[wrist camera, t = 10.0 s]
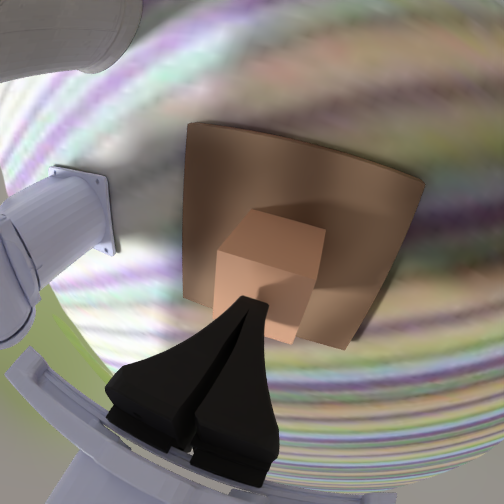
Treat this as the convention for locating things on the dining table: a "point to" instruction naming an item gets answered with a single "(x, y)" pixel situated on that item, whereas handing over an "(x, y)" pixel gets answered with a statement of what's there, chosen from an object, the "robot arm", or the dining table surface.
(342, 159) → the post base
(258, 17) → the dining table surface
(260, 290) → the peach tilted cube
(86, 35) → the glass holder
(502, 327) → the dining table surface
